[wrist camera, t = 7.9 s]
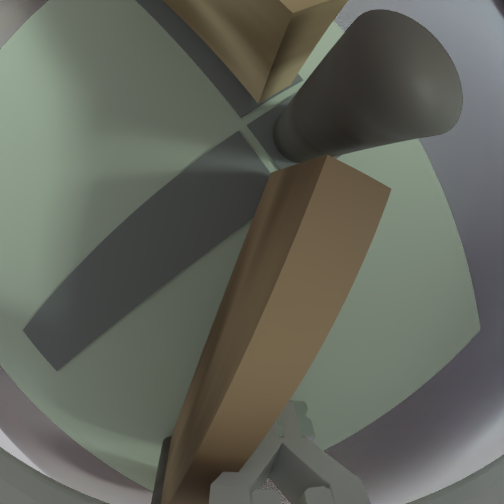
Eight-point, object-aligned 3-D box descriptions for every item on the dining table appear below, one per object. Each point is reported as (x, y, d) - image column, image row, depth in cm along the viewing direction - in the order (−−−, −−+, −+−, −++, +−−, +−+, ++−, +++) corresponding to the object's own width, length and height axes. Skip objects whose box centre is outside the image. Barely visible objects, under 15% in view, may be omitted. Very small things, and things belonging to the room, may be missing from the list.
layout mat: (476, 326, 11) (481, 330, 11) (173, 497, 13) (173, 503, 12) (187, -79, 5) (187, -85, 4) (-77, 195, 7) (-82, 196, 6)
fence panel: (261, 168, 8) (314, 139, 3) (311, 189, 8) (424, 200, 3) (160, 449, 10) (144, 537, 5) (192, 457, 10) (186, 546, 5)
